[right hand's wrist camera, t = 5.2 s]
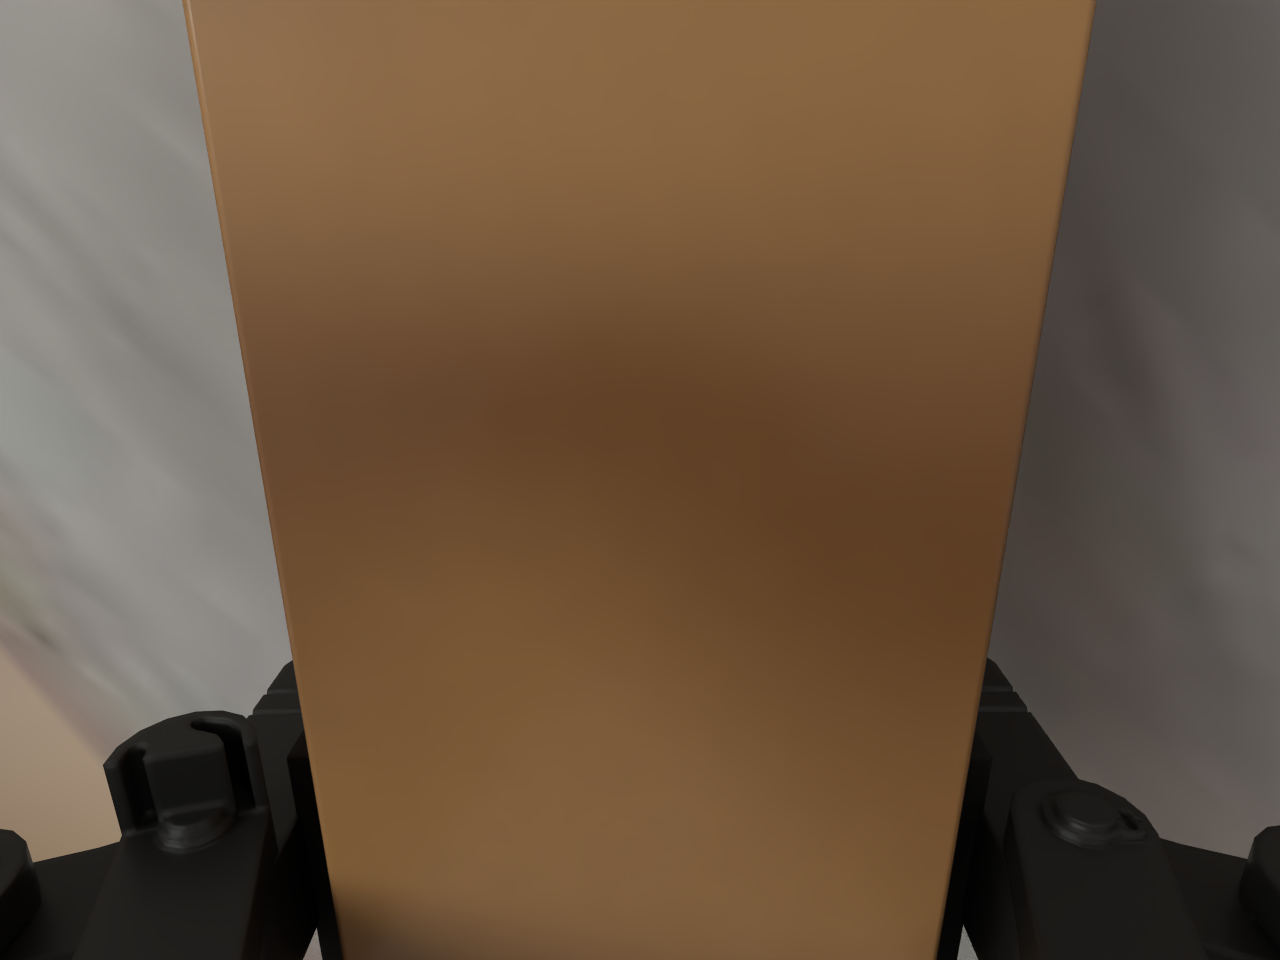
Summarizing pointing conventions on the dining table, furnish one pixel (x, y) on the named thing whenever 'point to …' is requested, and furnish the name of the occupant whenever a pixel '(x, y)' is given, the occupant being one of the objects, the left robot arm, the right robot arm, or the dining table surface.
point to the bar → (639, 445)
